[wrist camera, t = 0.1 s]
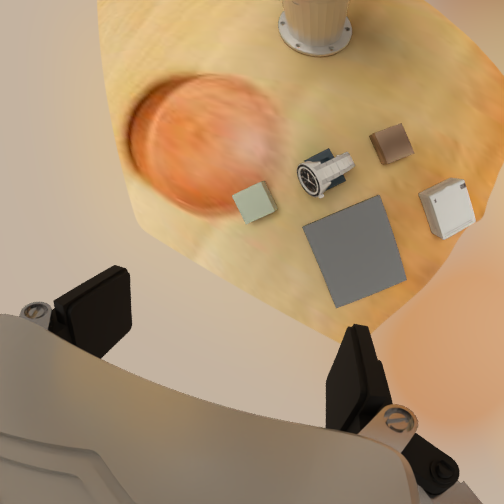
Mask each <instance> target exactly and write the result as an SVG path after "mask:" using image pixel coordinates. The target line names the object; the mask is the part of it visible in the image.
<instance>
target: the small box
mask: <svg viewBox="0 0 504 504" xmlns="http://www.w3.org/2000/svg"><path fill="white" fill-rule="evenodd" d="M418 195H419V197H420V200H421V202H422V205H423V208H424V211H425V214H426V217H427V220H428V223H429V226H430V229H431V232H432V233H433V234H435V235H436V236H438V237H440V238H442V239H443V240H445V239H447V238H449V237H450V236H452V235H454V234H456V233H457V232H459V231H461V230H463V229H464V228H466V227H468V226H470V225H471V224H473V223H475V222H476V220H475V216H474V212H473V208H472V205H471V201H470V198H469V194H468V191H467V188H466V185H465V181H464V180H463V179H457V178H448V179H446V180H444V181H442V182H440V183H438V184H436V185H434V186H432V187H430V188H428V189H426V190H424V191H422V192H420V193H418Z"/></svg>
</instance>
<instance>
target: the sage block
mask: <svg viewBox="0 0 504 504" xmlns="http://www.w3.org/2000/svg"><path fill="white" fill-rule="evenodd" d="M232 197H233V199H234V201H235V203H236V205H237V207H238V209H239V211H240V213H241V215H242V217H243V219H244V222H245V224H248V223H250V222H252V221H255V220H257V219H259V218H261V217H264V216H266V215H268V214H270V213H272V212H275V211H276V209H277V206H276V204H275V202H274V200H273V197H272V195H271V193H270V191H269V189H268V187H267V185H266V183H265V181H262V182H259V183H257V184H255V185H253V186H251V187H249V188H247V189H245V190H242V191H240V192H238V193H236V194H234V195H232Z"/></svg>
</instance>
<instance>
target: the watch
mask: <svg viewBox="0 0 504 504" xmlns="http://www.w3.org/2000/svg"><path fill="white" fill-rule="evenodd" d="M354 166H355V164H354V162H353V160H352V158H351V156H350V154H349V153H348V152H345V153H343V154H341V155H337V156H336V157H335V158H334V156H333V155H332V153H331V151H330V149H329V148H328V149H326V150H324V151H322V152H320V153H318V154H316V155H314V156H313V157H311V158H309V159H307V160H305V161H304V163H301V164H299V165H298V167H297V176H298V179H299V181H300V183H301V185H302V187H303V188H304V190H305V191H306V192H307V193H308V194H309V195H311V196H313V197H319V199H320V198H323V197H324V194H322V193H324V192H325V191H326V190H328V189H330V188H332V187H334V186H337V185H339V184H341V183H343V182H345V181H346V180H345V178H344V176H343V174H344V173H346V172H347V171H349V170H350V169H352V168H353V167H354Z"/></svg>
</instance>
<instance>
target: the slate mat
mask: <svg viewBox="0 0 504 504" xmlns="http://www.w3.org/2000/svg"><path fill="white" fill-rule="evenodd" d="M302 228H303V230H304V232H305V234H306V237H307V239H308V241H309V244H310V246H311V248H312V251H313V253H314V255H315V258H316V260H317V262H318V265H319V267H320V269H321V272H322V274H323V277H324V279H325V282H326V284H327V286H328V289H329V291H330V294H331V296H332V299H333V301H334V304H335V306H336V308H338V307H341V306H344V305H346V304H349V303H352V302H354V301H357V300H359V299H362V298H365V297H367V296H370V295H372V294H374V293H377V292H379V291H382V290H384V289H387V288H389V287H391V286H394V285H396V284H398V283H401V282H403V281H405V280H407V279H406V275H405V272H404V268H403V264H402V261H401V257H400V254H399V251H398V247H397V244H396V241H395V238H394V235H393V232H392V229H391V226H390V223H389V220H388V217H387V214H386V211H385V209H384V206H383V203H382V201H381V198H380V195H377V196H374V197H372V198H369V199H367V200H365V201H362V202H360V203H358V204H355V205H353V206H350V207H348V208H346V209H343V210H341V211H339V212H336V213H334V214H331V215H329V216H327V217H324V218H322V219H320V220H317V221H315V222H312V223H310V224H308V225H305V226H303V227H302Z"/></svg>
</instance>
